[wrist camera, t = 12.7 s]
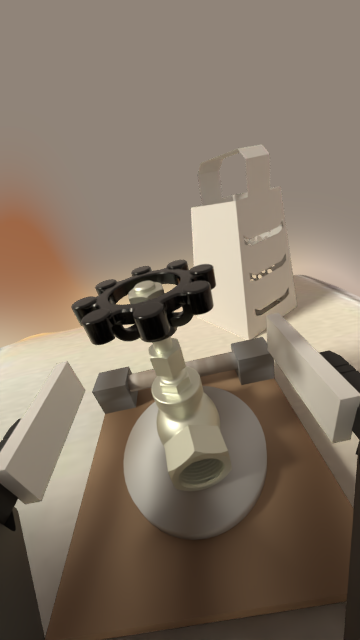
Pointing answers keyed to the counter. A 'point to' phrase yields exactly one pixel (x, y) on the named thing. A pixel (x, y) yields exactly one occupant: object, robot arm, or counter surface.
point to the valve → (166, 362)
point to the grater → (243, 246)
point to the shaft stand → (202, 513)
